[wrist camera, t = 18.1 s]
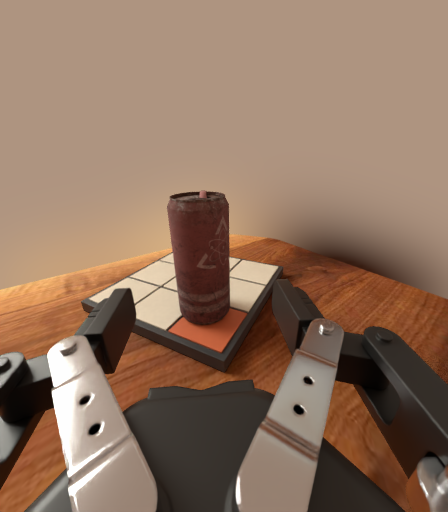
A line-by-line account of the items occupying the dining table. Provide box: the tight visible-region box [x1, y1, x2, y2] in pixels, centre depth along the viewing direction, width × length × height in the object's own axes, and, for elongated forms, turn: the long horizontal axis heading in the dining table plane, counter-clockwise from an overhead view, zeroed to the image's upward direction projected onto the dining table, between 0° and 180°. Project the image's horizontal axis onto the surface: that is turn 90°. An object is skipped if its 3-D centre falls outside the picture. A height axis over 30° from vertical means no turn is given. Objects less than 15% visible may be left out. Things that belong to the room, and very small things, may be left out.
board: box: [81, 252, 283, 372], centre depth 35 cm, size 22×22×2 cm
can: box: [167, 191, 230, 325], centre depth 25 cm, size 6×6×14 cm
